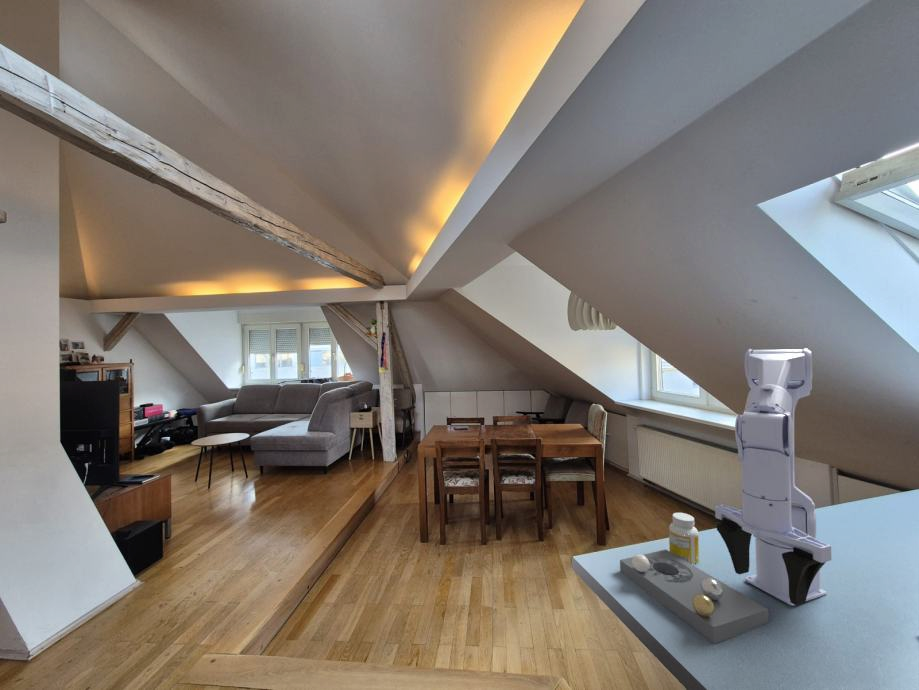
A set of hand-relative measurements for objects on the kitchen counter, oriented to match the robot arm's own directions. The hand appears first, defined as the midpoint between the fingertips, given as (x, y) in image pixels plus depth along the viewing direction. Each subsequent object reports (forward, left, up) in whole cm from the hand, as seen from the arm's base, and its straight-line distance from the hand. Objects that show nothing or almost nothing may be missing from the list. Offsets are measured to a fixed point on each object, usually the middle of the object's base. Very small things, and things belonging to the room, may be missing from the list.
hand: (768, 586), depth 56 cm
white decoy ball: (+5, -20, -6) cm, 21 cm away
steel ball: (0, -9, -6) cm, 11 cm away
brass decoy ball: (+5, -7, -6) cm, 10 cm away
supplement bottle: (-9, -23, -10) cm, 26 cm away
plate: (0, -14, -10) cm, 17 cm away
